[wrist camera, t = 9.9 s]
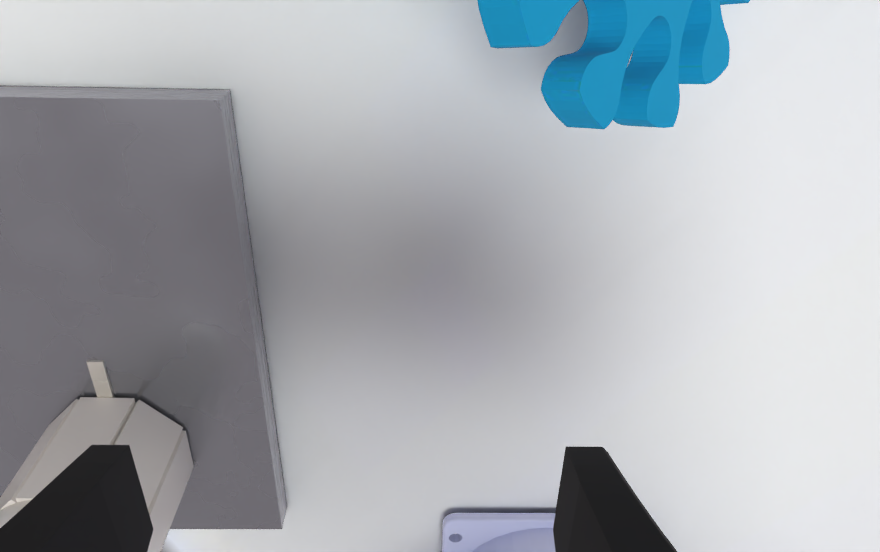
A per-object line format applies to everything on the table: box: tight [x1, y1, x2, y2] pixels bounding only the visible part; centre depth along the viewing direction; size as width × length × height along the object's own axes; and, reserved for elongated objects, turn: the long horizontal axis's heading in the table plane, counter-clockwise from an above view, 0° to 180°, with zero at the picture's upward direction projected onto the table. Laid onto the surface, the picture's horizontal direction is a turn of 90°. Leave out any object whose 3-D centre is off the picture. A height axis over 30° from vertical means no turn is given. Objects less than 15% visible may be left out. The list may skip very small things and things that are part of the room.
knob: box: [0, 397, 194, 552], centre depth 20 cm, size 4×4×6 cm
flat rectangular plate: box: [0, 86, 287, 529], centre depth 20 cm, size 16×10×4 cm, turn 179°
